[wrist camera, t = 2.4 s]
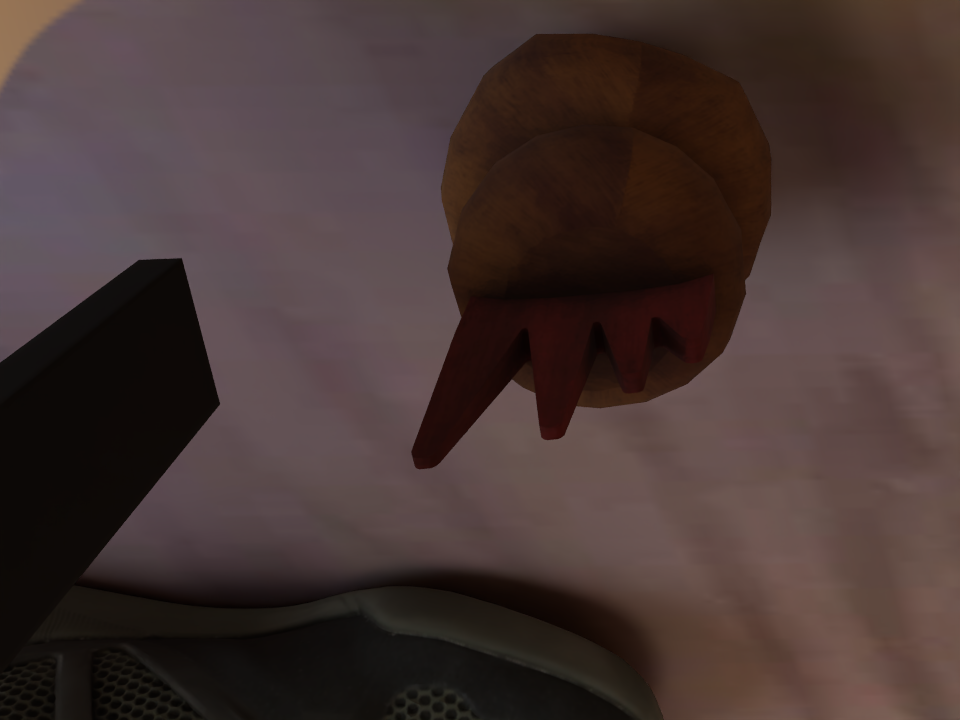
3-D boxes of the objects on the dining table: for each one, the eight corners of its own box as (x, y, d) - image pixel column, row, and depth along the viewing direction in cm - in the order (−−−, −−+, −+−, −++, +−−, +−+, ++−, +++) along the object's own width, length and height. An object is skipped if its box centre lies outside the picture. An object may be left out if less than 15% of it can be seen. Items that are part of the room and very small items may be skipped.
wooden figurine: (464, 206, 25) (275, 563, 12) (507, -11, 22) (322, 145, 9) (701, 264, 25) (773, 695, 12) (774, 52, 22) (982, 305, 9)
